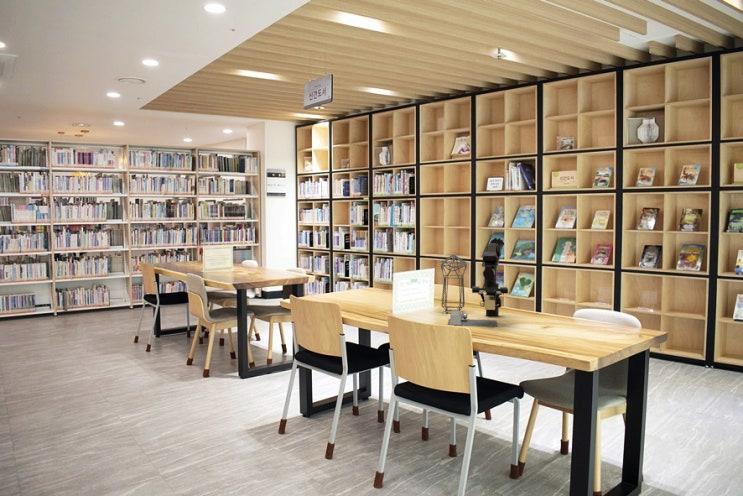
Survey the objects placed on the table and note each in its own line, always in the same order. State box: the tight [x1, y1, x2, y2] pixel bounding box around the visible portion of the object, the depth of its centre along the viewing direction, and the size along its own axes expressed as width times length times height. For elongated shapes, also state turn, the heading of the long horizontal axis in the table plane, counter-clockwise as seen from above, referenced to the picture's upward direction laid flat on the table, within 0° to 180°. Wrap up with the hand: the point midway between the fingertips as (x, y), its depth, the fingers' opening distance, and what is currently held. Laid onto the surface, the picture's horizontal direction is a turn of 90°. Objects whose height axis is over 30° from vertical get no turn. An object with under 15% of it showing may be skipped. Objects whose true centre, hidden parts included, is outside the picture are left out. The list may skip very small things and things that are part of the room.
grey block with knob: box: [449, 309, 468, 327], centre depth 314 cm, size 16×9×5 cm, turn 170°
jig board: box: [447, 318, 499, 328], centre depth 313 cm, size 18×26×1 cm
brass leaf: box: [479, 294, 495, 311], centre depth 311 cm, size 16×8×5 cm, turn 170°
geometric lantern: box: [440, 254, 468, 314], centre depth 348 cm, size 16×16×35 cm
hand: (489, 306), depth 311 cm, fingers closed on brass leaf, 5 cm apart
